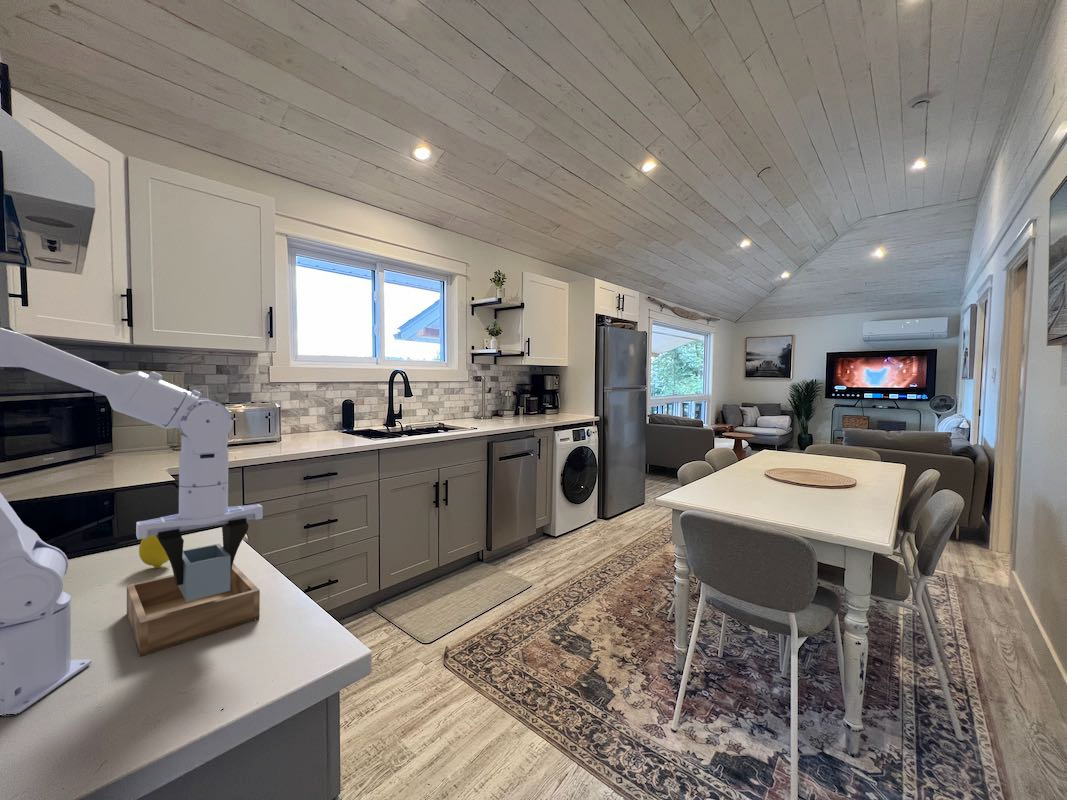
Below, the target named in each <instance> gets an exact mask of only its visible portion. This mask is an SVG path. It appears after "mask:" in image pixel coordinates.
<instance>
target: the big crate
mask: <svg viewBox="0 0 1067 800" xmlns="http://www.w3.org/2000/svg"><path fill="white" fill-rule="evenodd" d="M260 593H261V590H260V589H259V588H258V587H257V585H255V584H254V583H253V581H251V580H250V578H248V576H247V575H246V574H245V573H244V572H243V571H241V569H240V568H239V567H238V566H237V565H236V564H235V563H234V562H233V565H232V569H231V573H230V591H227V592H223V593H219V594H215V595H211V596H207V597H203V598H199V599H196V600H192V601H188V602H186V600H185V598H184V596H183V595H182V593H181V591H180V589H179V587H178V585H176V583H175V581H174V574H170V575H167V576H162V577H158V578H153V579H149V580H144V581H139V582H136V583H135V582H134V583H130V584H127V585H126V616H127V619H128V623H129V625H130V629H131V632H132V635H134V636H133V638H134V641H135V644H136V645H135V646H136V648H137V651H138V654H139V657H143V656H146V655H150V654H152V653H153V654H154V653H155V652H159V651H162V650H166V649H169V648H172V647H174V646H178V645H181V644H184V643H187V642H191V641H193V640H194V641H195V640H196V639H200V638H203V637H205V636H207V637H208V636H209V635H213V634H215V633H216V634H217V633H218V632H223V631H225V630H229V629H232V628H235V627H238V626H241V625H244V624H247V622H248V623H251V622H253V620H254V621H256V620H255V619H257V620H260V619H259V618H260V616H261V615H260V613H261V612H260V609H261V607H260V606H261V605H260V595H261V594H260ZM250 621H251V622H250Z"/></svg>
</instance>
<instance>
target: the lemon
mask: <svg viewBox="0 0 1067 800" xmlns="http://www.w3.org/2000/svg"><path fill="white" fill-rule="evenodd" d="M140 540H141V541H140V544H139V547H138V554H139V558H140V560H141V561H142V562H143V563H144V564H145V565H148V566H152V567H154V568H155V569H159V568H161V566H162V565H164V564H166V563H167V562H169V558H168V556H167V554H166V552H165V550H164V548H163V547H162V545H161V544H160V542H159V540H158V538H157V537H156V535H154V536H148V538H144V539H140Z"/></svg>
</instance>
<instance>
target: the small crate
mask: <svg viewBox="0 0 1067 800" xmlns="http://www.w3.org/2000/svg"><path fill="white" fill-rule="evenodd" d="M230 557H231V556H230V555H229V554H228V552H227V551H226V550H225V549H224V548H223V545H221V543H215V544H214V543H213V544H210V545H205V546H199V547H198V546H197V547H195V548H188V549H183V556H182V566H183V584H182V585H178V587H179V589H180V591H181V593H182V595H183V596H184V598H185V600H186V602H188V601H192V600H196V599H199V598H203V597H207V596H211V595H215V594H219V593H223V592H227V591H230Z"/></svg>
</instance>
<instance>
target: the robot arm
mask: <svg viewBox="0 0 1067 800" xmlns="http://www.w3.org/2000/svg"><path fill="white" fill-rule="evenodd" d="M1 367H2V368H24V369H26V370H30V371H33V372H36V373H38V374H41V375H44V376H48V377H50V378H53V379H56V380H59V381H62V382H65V383H68V384H71V385H74V386H76V387H80V388H81V389H85V390H89V391H92V392H94V393H97V394H101V395H103V396H105V397H106V398H107V400H108V402H109V405H110V407H111V409H112V410H113V411H115V412H118V413H121V414H123V415H125V416H126V415H127V416H130V417H133V418H135V419H138V420H141V421H144V422H147V423H150V424H152V425H155V426H157V427H160V428H164V429H166V430H172V429H176V428H177V429H178V430H179V431H180V433H182V434H181V436H180V437H181V439H180V440H181V442H180V445H181V446H180V451H179V454H178V513H175V514H171V515H166V516H160V517H158V518H152V519H146V520H140V521H136V522H135V524H136V527H135V529H136V530H135V531H136V532H135V535H136V538H137V540H142V539H144V538H148V536H154V535H156V537H157V538H158V540H159V542H160V544H161V545H162V547H163V548H164V550H165V552H166V554H167V556H168V558H169V560H168V562H169V563H170V566H171V568H172V573H173V574H172V575H174V581H175V583H176V585H182V584H183V566H182V556H183V550H184V542H185V541H184V538H183V537H182V533H181V532H183V531H190V530H196V529H201V528H208V527H214V526H220V525H221V530H222V531H221V534H222V547H223V548H224V549H225V550H226V551H227V552H228V554H229V555H230V556H231V557H230V573H231V569H232V565H233V563H234V561H235V557H236V555H237V553H238V549H239V547H240V545H241V543H242V541H243V539H244V537H245V536H246V534H247V533H248V530H249V523H248V521H250V520H254V521H255V520H257V521H258V520H261V519H264V518H263V517H264V514H263V513H264V512H263V510H264V509H263V506H262V504H260V503H258V504H248V505H236V506H235V505H234V506H229V449H228V444H229V439H228V434H229V433H230V432H231V431H232V429H233V425H234V419H232V416H231V415H232V414H231V413H230V411H229V410H228V409H227V407H226V406H224V405H223V404H222V403H219V402H217V401H214V400H211V399H210V398H205V397H200V396H201V395H202V393H201V392H200V391H198V390H196V389H192V390H191V391H189V390H187V389H184V388H182V387H179V386H177V385H175V384H172V383H169V382H167V381H165V380H163V379H162V378H163V375H162V374H160V373H158V372H155V371H150V373H148V374H147V373H146V372H143V371H140V370H137V371H133V372H128V373H125V374H119V373H116V372H114V371H111V370H109V369H107V368H104V367H102V366H99V365H97V364H95V363H92V362H90V361H88V360H85V359H83V358H81V357H78V356H76V355H74V354H71V353H69V352H67V351H64V350H61V349H59V348H57V347H54V346H52V345H50V344H47V343H44V342H42V341H40V340H37V339H35V338H34V337H31V336H28V335H25V334H23V333H20V332H16V331H13V330H9V329H7V328H6V329H5V328H3V327H0V368H1ZM68 569H69V559H68V557H67V555H66V554H65V552H63V551H62V550H61V549H60V548H58V547H56V546H52V545H50V544H48V543H46V542H45V541H43V539H41V538H40V536H39V535H38V533H37V532H36V531H35V530H33V529H32V528H30V527H29V526H27V524H25V523H24V522H23V521H22V520H21V518H20V517H19V516H18V515H17V513H16V511H15V510H14V508H13V507H12V506H11V505H10V504H9V502H8V501H7V499H6V498H5V496H4V495H3V494H2V492H0V714H15V715H17V713H18V714H20V713H22V712H23V711H24V710H25V709H27V708H29V707H30V706H32V705H33V704H34V703H36V702H37V701H39V700H40V699H42V698H43V697H44V696H46V695H48V694H49V693H51V692H52V691H53V690H55V689H56V688H58V687H59V686H60V685H62V684H64V683H65V682H67V680H70V679H71V678H73V676H75V675H76V674H78V673H80V672H81V671H82V670H84V669H85V668H86V667H88V666H90V665H91V664H92V659H90V658H86V659H85V658H83V659H72V657H71V656H72V653H71V652H72V631H71V629H72V628H71V627H72V626H71V625H72V618H71V617H72V615H71V614H72V608H71V607H72V605H71V604H72V603H71V602H72V596H71V595H70V594H68V593H67V592H65V591H64V590H63V589H64V577H65V575H66V574H67V571H68Z"/></svg>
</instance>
